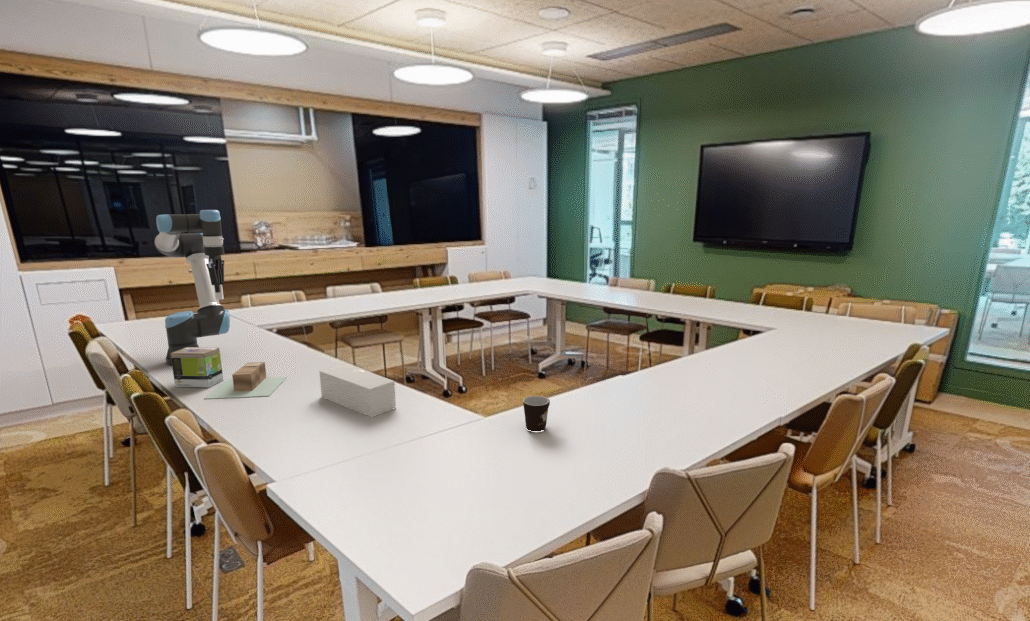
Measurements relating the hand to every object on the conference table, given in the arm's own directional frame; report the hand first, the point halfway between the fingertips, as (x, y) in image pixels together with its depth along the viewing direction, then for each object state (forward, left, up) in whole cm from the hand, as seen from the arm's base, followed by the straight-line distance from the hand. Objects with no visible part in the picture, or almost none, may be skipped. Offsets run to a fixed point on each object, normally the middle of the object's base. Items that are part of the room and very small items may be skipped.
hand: (219, 299), depth 231 cm
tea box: (+20, -3, -32) cm, 38 cm away
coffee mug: (+81, +131, -32) cm, 157 cm away
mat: (+28, +19, -32) cm, 47 cm away
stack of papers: (+50, +66, -33) cm, 89 cm away
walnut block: (+17, +19, -28) cm, 38 cm away
